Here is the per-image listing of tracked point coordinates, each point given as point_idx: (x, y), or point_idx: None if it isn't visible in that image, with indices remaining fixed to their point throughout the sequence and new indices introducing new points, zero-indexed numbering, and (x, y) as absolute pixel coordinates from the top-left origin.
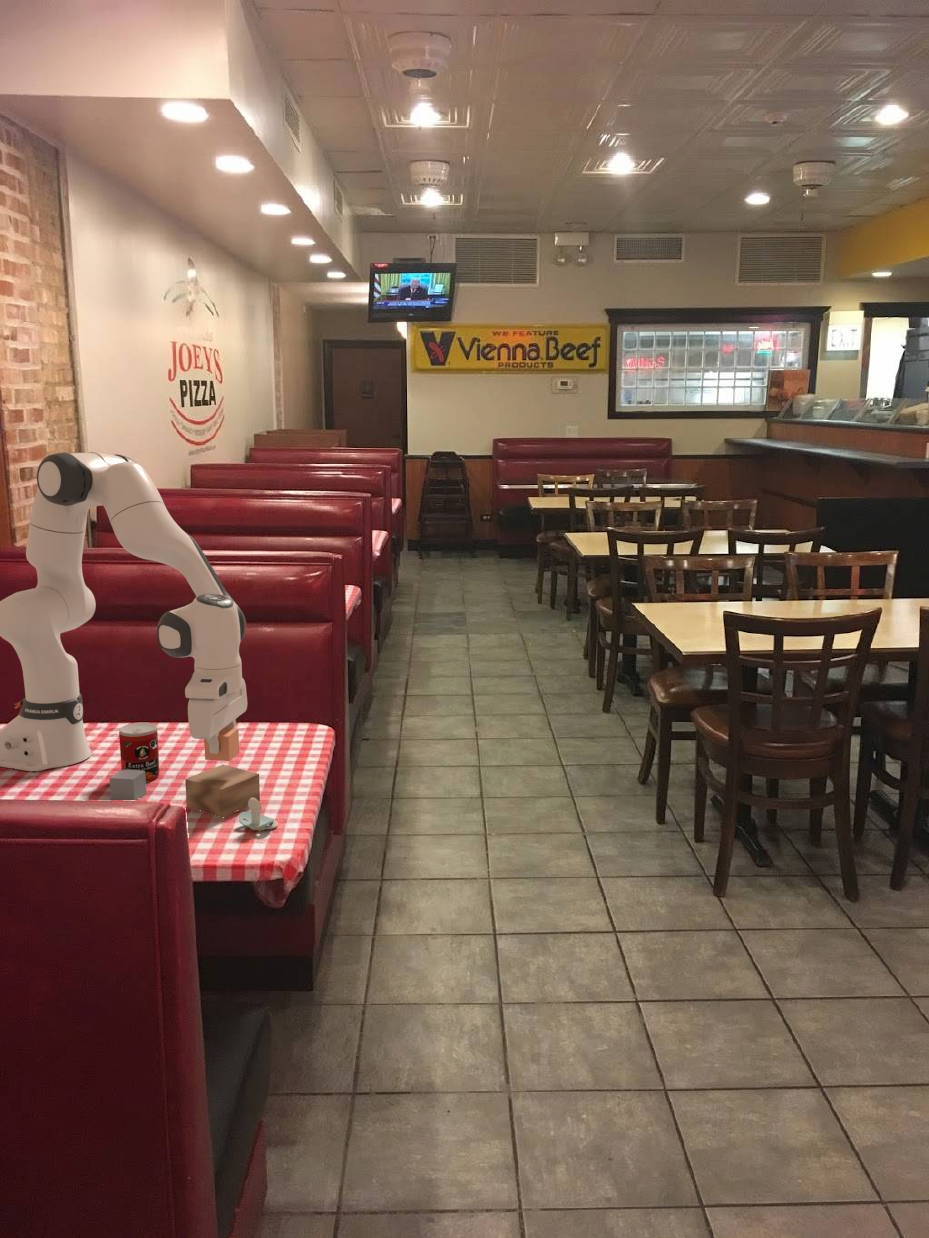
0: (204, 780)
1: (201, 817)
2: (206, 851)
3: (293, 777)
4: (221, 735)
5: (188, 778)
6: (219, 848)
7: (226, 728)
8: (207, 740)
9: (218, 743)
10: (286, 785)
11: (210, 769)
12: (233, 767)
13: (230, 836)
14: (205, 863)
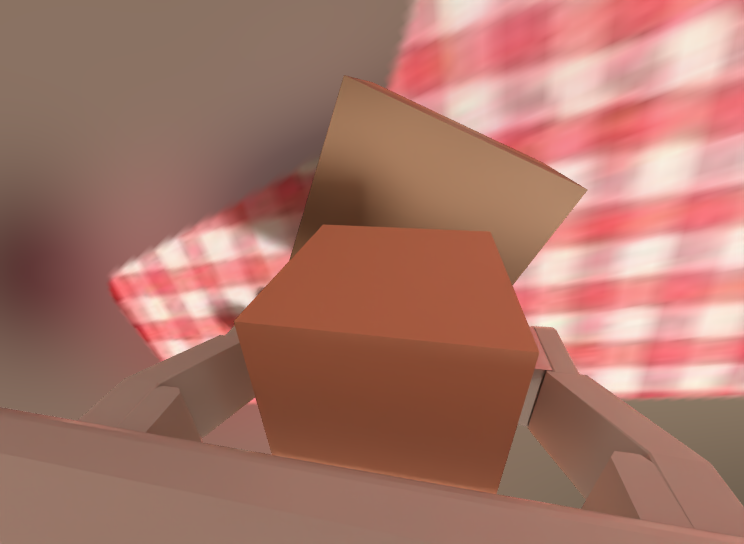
0: (348, 185)
1: (304, 178)
2: (151, 265)
3: (663, 346)
4: (284, 444)
5: (353, 91)
6: (175, 285)
7: (490, 456)
8: (167, 365)
9: (250, 394)
10: (584, 340)
11: (501, 153)
12: (532, 254)
13: (231, 289)
14: (113, 280)
